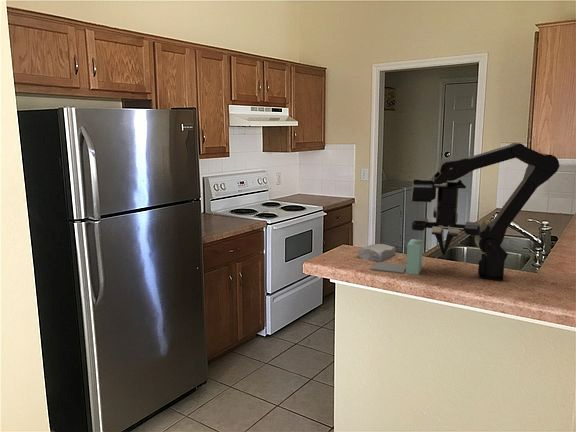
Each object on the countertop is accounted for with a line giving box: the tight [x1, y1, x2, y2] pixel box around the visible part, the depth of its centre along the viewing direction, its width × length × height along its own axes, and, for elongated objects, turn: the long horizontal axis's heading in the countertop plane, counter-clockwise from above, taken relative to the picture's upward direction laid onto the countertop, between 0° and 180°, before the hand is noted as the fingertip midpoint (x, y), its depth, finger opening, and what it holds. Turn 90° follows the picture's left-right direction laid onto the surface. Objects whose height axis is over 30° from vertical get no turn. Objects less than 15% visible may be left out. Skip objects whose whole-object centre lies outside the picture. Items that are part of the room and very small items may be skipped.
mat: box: [370, 261, 406, 274], centre depth 150 cm, size 10×8×1 cm
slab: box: [405, 238, 424, 275], centre depth 147 cm, size 4×7×9 cm, turn 156°
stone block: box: [357, 243, 396, 262], centre depth 163 cm, size 12×5×10 cm
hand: (443, 254), depth 143 cm, fingers closed
